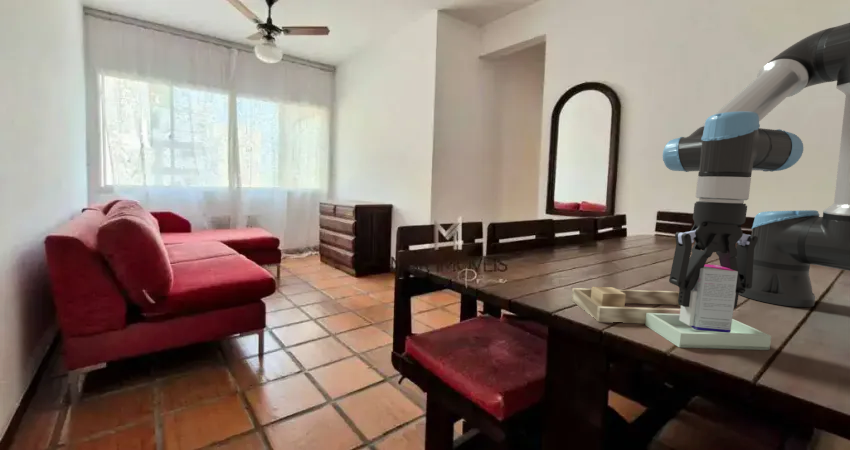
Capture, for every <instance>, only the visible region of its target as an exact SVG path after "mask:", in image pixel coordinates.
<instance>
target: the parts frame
mask: <svg viewBox="0 0 850 450" xmlns="http://www.w3.org/2000/svg"><path fill="white" fill-rule="evenodd" d="M571 289H572V290H571V301H572V302H573V303H574V302H575V303H574V304H575V305H577V306H578V307H579V306H580V307H579V308H581V309H582V310H583V311H584V310H585V311H584V312H585V313H586V314H588V315H589V314H590V315H591V317H592V318H593V317H594V318H595V319H596V320H595V319H594V318H593V319H594V320H595V321H597V322H598V323H613V322H623V323H624V324H645V322H646V313H666V314H680V309H681V305H679V304H678V297H679V290H678V291H677V290H675V291H674V290H673V291H672V290H644V289H641V290H640V289H618V290H619V291H621V292H623V293H625V294H626V297H625V304H641V305H643V304H644V305H645V304H647V305H672V306H673V305H675V306H678V307H680V308H670V307H668V308H665V307H660V308H659V307H638V306H637V307H633V306H632V307H631V306H629V307H628V306H625V307H604V306H601V305H600V304H598V303H597V302H595V301H594V300H593V299H591V289H592V288H584V287H583V288H581V287H579V288H577V287H572V288H571ZM590 315H589V316H590ZM623 323H622V324H623Z"/></svg>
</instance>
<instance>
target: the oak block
mask: <svg viewBox="0 0 850 450" xmlns="http://www.w3.org/2000/svg"><path fill="white" fill-rule="evenodd" d="M590 289H591V299H593V300H594V301H595V302H597V303H598V304H600V305H601V306H604V307H626V305H625V304H626V303H625V297H626V294H625V293H623V292H621V291H619V290H620V289H617V288H616V287H610V286H607V287H606V286H591V288H590Z"/></svg>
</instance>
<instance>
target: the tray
mask: <svg viewBox="0 0 850 450" xmlns="http://www.w3.org/2000/svg"><path fill="white" fill-rule="evenodd" d="M679 317H680V314H666V313H646V322H645V323H644V324H645V325H644V326H645V327H647V328H649V329H650V330H651V331H652V332H655V333H656V334H658V335H660V336H661V337H662V338H664V339H665V340H666V341H668V342H670V343H672V344H673V345H675V346H676V347H678V348H685V349H687V348H688V349H719V350H720V349H723V350H753V351H754V350H756V351H757V350H759V351H770V349H771V348H770V347H771V343H772V342H771V341H772V335H770V334H769V333H766V332H763V331H762V330H760V329H757V328H754V327H753V326H750V325H748V324H745V323H743V322H741V321H738V320H736V319H734V318H732V324H731V331H730V333H725V332H713V331H699V330H695V329H694V328H693V327H691V326H689V325H687V324H685V323H683V322H682V321H680V320H679Z"/></svg>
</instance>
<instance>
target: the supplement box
mask: <svg viewBox="0 0 850 450" xmlns="http://www.w3.org/2000/svg"><path fill="white" fill-rule="evenodd" d="M737 275H738V271H735V270H732V269H729V268H726V267H722V266H720V264H706V263H705V265H704V267H703V268H701V269H700V275H699V278H698V280H697V282H696V284H695V286H694V288H693V290H695V291H697V300H696V308H695V316H694V324H693V326H691V327H693V328H694V329H695V330H699V331H713V332H725V333H730V331H731V324H732V319H733V317H732V316H734V310H733V307H734V299H735V291H736V283H737Z"/></svg>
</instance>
